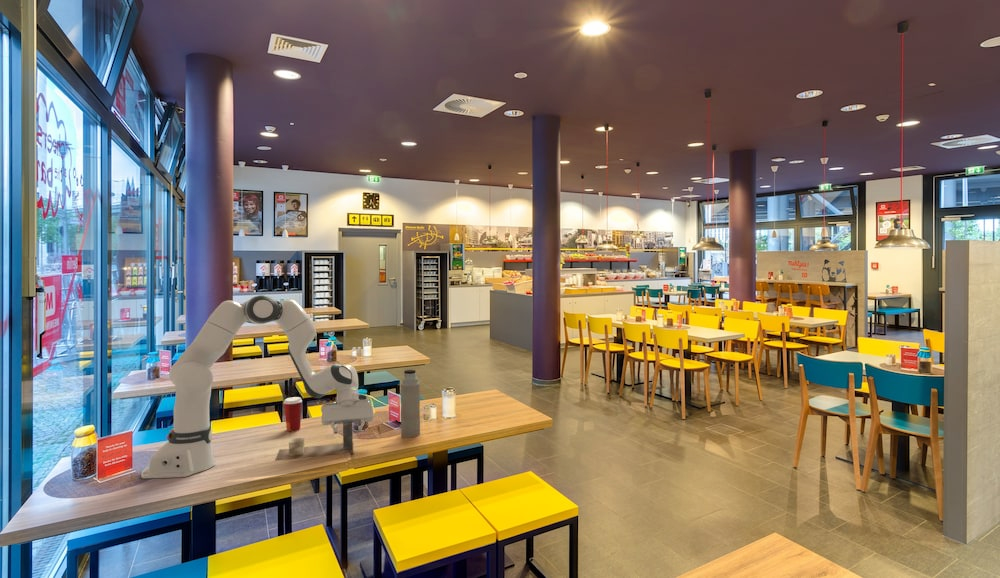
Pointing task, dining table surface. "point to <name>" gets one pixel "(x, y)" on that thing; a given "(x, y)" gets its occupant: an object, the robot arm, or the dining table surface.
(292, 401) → the paper cup
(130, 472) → the dining table surface
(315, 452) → the gray l-shaped stand
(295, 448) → the gray-green cube
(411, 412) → the thermos bottle
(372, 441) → the dining table surface
